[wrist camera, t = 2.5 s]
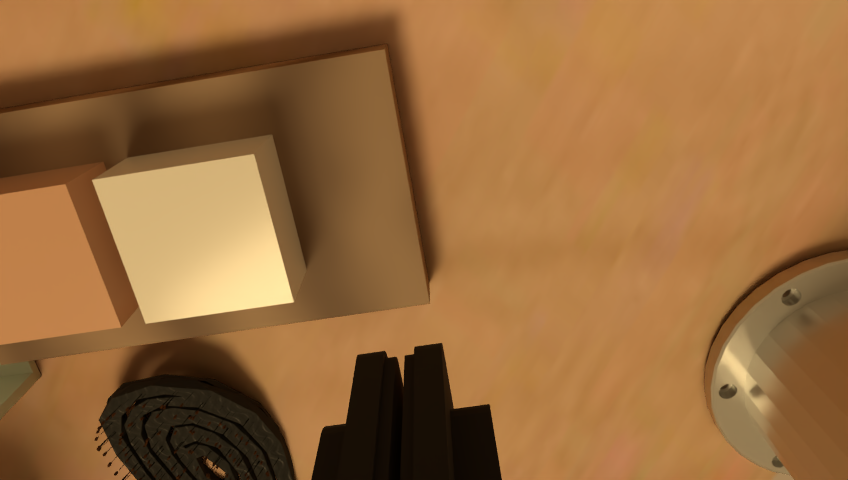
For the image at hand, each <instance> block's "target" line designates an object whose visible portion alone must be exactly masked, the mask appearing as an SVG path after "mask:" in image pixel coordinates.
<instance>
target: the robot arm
mask: <svg viewBox="0 0 848 480" xmlns="http://www.w3.org/2000/svg"><path fill="white" fill-rule="evenodd" d="M704 391H705V397H706V402H707V407H708V409H709V412H710V414H711V416H712V418H713V421H714V423H715V424H716V426H717V427H718V429H719V430H720V432H721V433H722V435H723V436H724V438H725V439H726V441H727V442H728V443H729V444H730V445H731V446H732V447H733V448H734V449H735V450H736V451H737V452H738V453H739V454H740V455H741V456H743V457H745V458H746V459H748V460H749V461H751V462H753V463H754V464H756V465H758V466H760V467H763V468H765V469H768V470H770V471H773V472H776V473H782V474H787V475H791V476H792V477H793V479H794V480H848V250H845V251H838V252H831V253H828V254H825V255H821V256H818V257H815V258H812V259H808V260H805V261H803V262H801V263H799V264H797V265H794V266H792V267H790V268H788V269H786V270H784V271H782V272H780V273H778V274H777V275H775V276H774V277H772V278H771V279H769V280H768V281H767V282H765V283H764V284H762V285H761V286H759V287H758V288H756V289H755V290H754V291H753V292H752V293H751V294H750V295H749V296H748V297H747V298H746V299H745V300H743V301H742V302H741V303H740V304H739V305H738V306H737V307H736V309H735V310H734V311H733V313H732V314H731V315H730V316H729V318H728V319H727V320H726V322H725V323H724V324H723V325H722V327H721V329H720V331H719V333H718V335H717V337H716V339H715V341H714V343H713V344H712V346H711V350H710V353H709V356H708V360H707V363H706V367H705V379H704ZM311 480H502V478H501V472H500V466H499V460H498V453H497V447H496V441H495V435H494V429H493V423H492V416H491V410H490V405H489V404H487V405H480V406H472V407H465V408H458V409H454V408H453V402H452V396H451V390H450V385H449V379H448V373H447V367H446V362H445V356H444V350H443V345H442V343H438V344H431V345H424V346H417V347H415V348H414V354H413V355H405V362H404V387H403V382H402V377H401V373H400V368H399V363H398V359H397V357H391V358H388V357H387V354H386V352H385V351H381V352H374V353H367V354H360V355H357V359H356V365H355V371H354V377H353V383H352V390H351V396H350V402H349V408H348V414H347V420H346V424H340V425H333V426H325V427H324V428H323V430H322V433H321V437H320V442H319V446H318V451H317V456H316V461H315V465H314V470H313V475H312V479H311Z"/></svg>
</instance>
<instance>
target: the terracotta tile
mask: <svg viewBox="0 0 848 480" xmlns="http://www.w3.org/2000/svg"><path fill="white" fill-rule="evenodd" d="M105 171H107V170H106V168H105V165H104V162H98V163H92V164H85V165H79V166H73V167H67V168H61V169H54V170H48V171H42V172H36V173H30V174H23V175H17V176H11V177H5V178H0V345H3V344H10V343H17V342H24V341H31V340H38V339H44V338H51V337H58V336H65V335H72V334H79V333H86V332H93V331H100V330H106V329H113V328H120V327H122V326H123V325H124V324H125V322H126V321H127V320H128V319H129V318H130V317H131V315H132V314H133V313H134V312H135V311H136V309H137V308H138V307H139V305H138V302H137V299H136V297H135V294H134V291H133V289H132V286H131V283H130V281H129V278H128V275H127V273H126V270H125V267H124V265H123V262H122V259H121V257H120V254H119V251H118V249H117V246H116V243H115V241H114V238H113V235H112V232H111V230H110V227H109V224H108V222H107V219H106V216H105V214H104V211H103V208H102V206H101V203H100V200H99V198H98V195H97V192H96V190H95V187H94V184H93V182H92V180H93V179H94V178H96V177H97V176H99V175H101V174H102V173H104V172H105Z"/></svg>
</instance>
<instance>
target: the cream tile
mask: <svg viewBox="0 0 848 480" xmlns="http://www.w3.org/2000/svg"><path fill="white" fill-rule="evenodd" d="M92 182H93V184H94V187H95V190H96V192H97V195H98V198H99V200H100V203H101V206H102V208H103V211H104V214H105V216H106V219H107V222H108V224H109V227H110V230H111V232H112V235H113V238H114V241H115V243H116V246H117V249H118V251H119V254H120V257H121V259H122V262H123V265H124V267H125V270H126V273H127V275H128V278H129V281H130V283H131V286H132V289H133V291H134V294H135V297H136V299H137V302H138V305H139V307H140V310H141V313H142V315H143V318H144V321H145V323H146V324H148V323H155V322H162V321H168V320H175V319H182V318H189V317H196V316H203V315H210V314H217V313H223V312H230V311H237V310H244V309H251V308H258V307H265V306H272V305H279V304H285V303H292V302H294V301H295V298H296V295H297V293H298V290H299V288H300V285H301V283H302V280H303V277H304V275H305V272H306V270H307V269H306V265H305V261H304V257H303V253H302V249H301V245H300V242H299V238H298V234H297V230H296V226H295V222H294V218H293V214H292V210H291V206H290V202H289V198H288V194H287V190H286V187H285V183H284V179H283V175H282V171H281V167H280V163H279V159H278V155H277V151H276V147H275V143H274V139H273V135H265V136H259V137H253V138H247V139H241V140H234V141H228V142H222V143H216V144H209V145H203V146H197V147H191V148H185V149H178V150H172V151H166V152H160V153H154V154H147V155H141V156H135V157H129V158H126V159H124V160H123V161H121V162H120V163H118V164H116V165H115V166H113V167H112V168H110V169H108V170H107V171H105V172H104V173H102V174H101V175H99V176H97V177H96V178H94V179H93V180H92Z"/></svg>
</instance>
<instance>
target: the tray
mask: <svg viewBox="0 0 848 480" xmlns="http://www.w3.org/2000/svg"><path fill="white" fill-rule="evenodd" d="M40 377H41V374H40V372H39V370H38V367H37V365H36V363H35V361H34V360H33V361H26V362H19V363H12V364H5V365H1V364H0V419H1V418H2V417H3V416H4V415H5V414H6V413H7V412H8V411H9V410H10V409H11V408H12V407H13V406H14V405H15V404H16V402H17V401H18V400H19V399H20V398H21V397H22V396H23V395H24V394H25V393H26V392H27V391H28V390H29V389H30V388H31V387H32V386H33V384H34V383H35V382H36V381H37V380H38V379H39V378H40Z"/></svg>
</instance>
